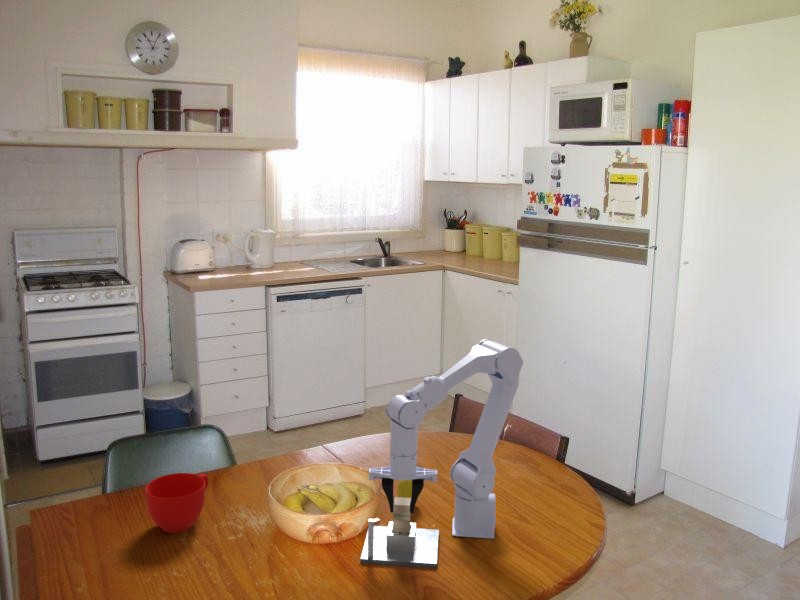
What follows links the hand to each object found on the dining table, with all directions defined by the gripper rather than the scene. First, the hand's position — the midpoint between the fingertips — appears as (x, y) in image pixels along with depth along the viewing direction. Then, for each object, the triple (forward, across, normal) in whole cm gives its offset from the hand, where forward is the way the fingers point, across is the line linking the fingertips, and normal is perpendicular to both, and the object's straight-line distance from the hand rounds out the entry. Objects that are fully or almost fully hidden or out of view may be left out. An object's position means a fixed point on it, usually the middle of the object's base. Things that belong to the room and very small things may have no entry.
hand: (402, 510), depth 153 cm
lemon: (+9, -1, -20) cm, 22 cm away
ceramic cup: (+9, +51, -8) cm, 52 cm away
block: (+4, 0, 0) cm, 4 cm away
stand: (+9, 0, 0) cm, 9 cm away
